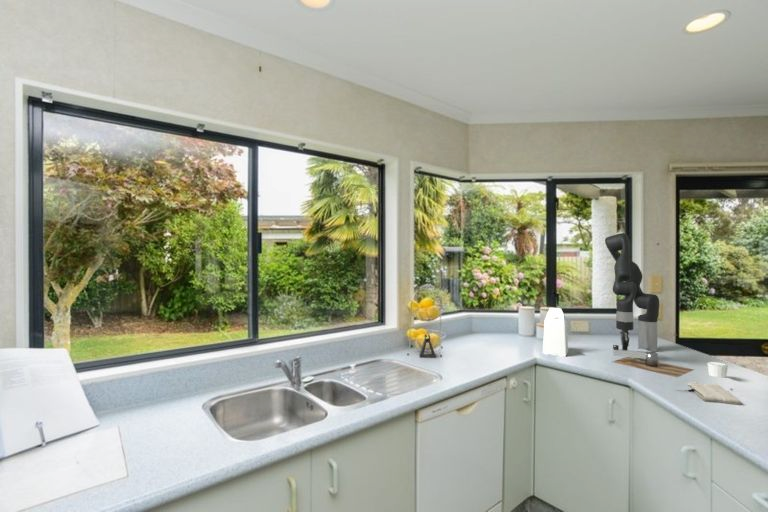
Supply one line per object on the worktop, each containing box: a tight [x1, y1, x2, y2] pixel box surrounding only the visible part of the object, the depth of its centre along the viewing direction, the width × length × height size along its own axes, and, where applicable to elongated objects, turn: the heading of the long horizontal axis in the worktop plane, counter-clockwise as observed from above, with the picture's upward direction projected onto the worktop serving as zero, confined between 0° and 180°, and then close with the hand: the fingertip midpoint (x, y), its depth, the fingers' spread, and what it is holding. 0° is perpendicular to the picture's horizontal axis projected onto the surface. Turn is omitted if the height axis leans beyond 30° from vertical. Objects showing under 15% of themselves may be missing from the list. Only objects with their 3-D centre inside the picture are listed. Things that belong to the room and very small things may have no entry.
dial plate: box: [612, 357, 695, 378], centre depth 183 cm, size 20×28×2 cm
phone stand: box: [418, 333, 437, 359], centre depth 207 cm, size 9×6×12 cm, turn 86°
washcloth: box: [686, 381, 742, 406], centre depth 149 cm, size 12×18×3 cm, turn 161°
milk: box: [542, 307, 569, 357], centre depth 212 cm, size 12×12×26 cm
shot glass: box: [706, 361, 728, 379], centre depth 168 cm, size 7×7×7 cm
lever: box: [612, 344, 659, 367], centre depth 186 cm, size 19×5×8 cm, turn 62°
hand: (624, 353), depth 192 cm, fingers closed
